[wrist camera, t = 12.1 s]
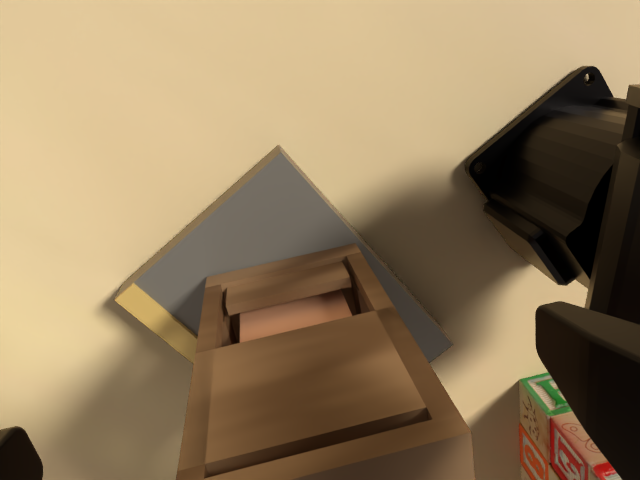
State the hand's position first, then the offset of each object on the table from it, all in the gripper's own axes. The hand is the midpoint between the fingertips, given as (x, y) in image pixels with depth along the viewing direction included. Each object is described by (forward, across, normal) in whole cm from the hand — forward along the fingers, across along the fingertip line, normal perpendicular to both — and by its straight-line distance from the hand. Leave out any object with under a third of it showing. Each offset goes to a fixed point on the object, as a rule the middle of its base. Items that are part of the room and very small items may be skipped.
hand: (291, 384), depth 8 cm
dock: (+13, 0, +6) cm, 14 cm away
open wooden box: (+11, 0, +6) cm, 13 cm away
